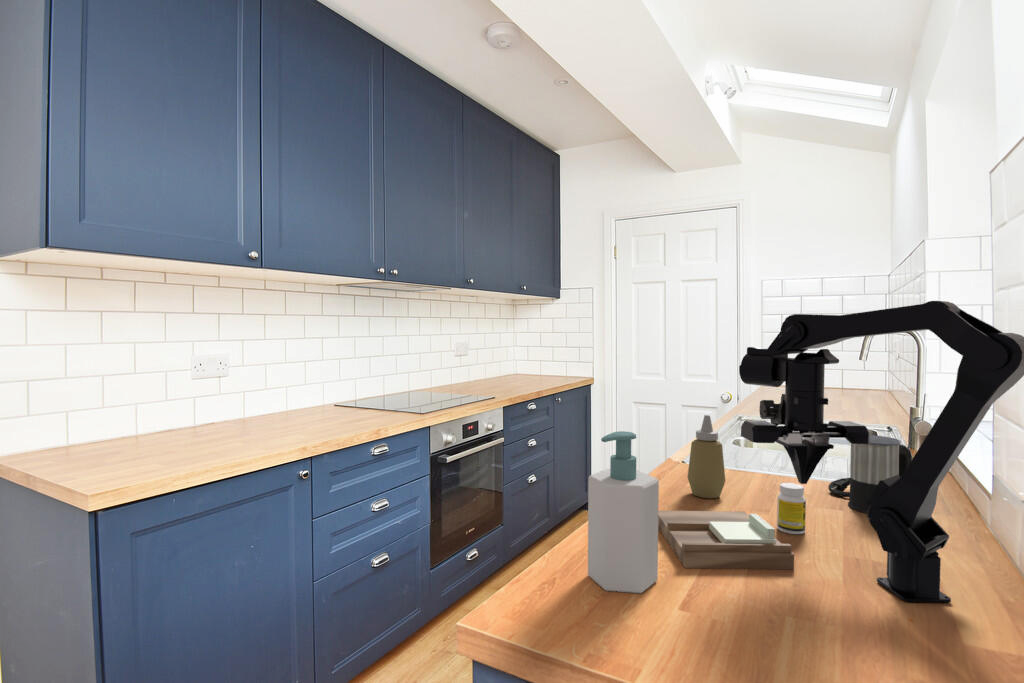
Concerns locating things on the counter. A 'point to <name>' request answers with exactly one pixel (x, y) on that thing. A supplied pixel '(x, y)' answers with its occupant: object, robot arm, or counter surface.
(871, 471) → the milk frother
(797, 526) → the supplement bottle
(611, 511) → the soap bottle
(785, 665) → the counter surface
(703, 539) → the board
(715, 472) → the squeeze bottle
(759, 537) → the cover
